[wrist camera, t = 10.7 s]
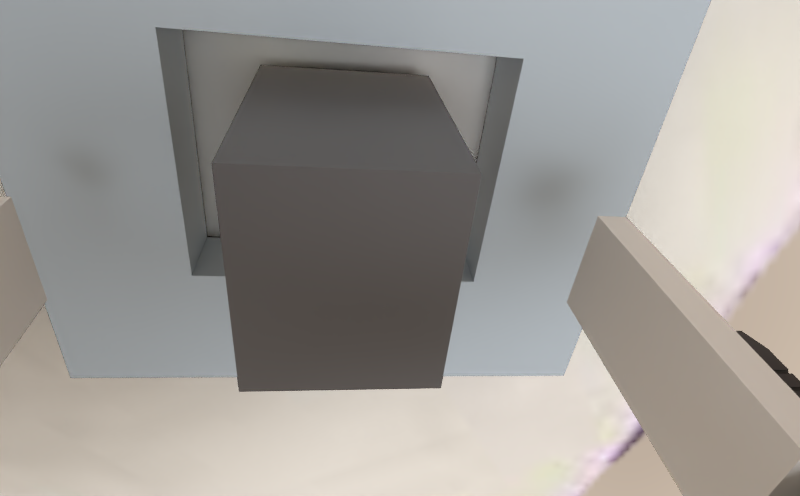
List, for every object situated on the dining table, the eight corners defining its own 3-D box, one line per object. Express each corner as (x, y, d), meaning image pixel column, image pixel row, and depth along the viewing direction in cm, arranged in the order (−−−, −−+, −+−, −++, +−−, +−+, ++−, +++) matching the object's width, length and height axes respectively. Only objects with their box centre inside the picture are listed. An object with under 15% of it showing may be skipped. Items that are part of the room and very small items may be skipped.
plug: (274, 217, 19) (239, 391, 12) (266, 52, 16) (211, 163, 9) (404, 220, 20) (440, 388, 13) (422, 63, 17) (482, 173, 10)
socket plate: (96, 332, 22) (70, 377, 20) (-73, -242, 12) (-160, -275, 10) (544, 335, 24) (563, 375, 22) (703, -128, 15) (763, -134, 13)
